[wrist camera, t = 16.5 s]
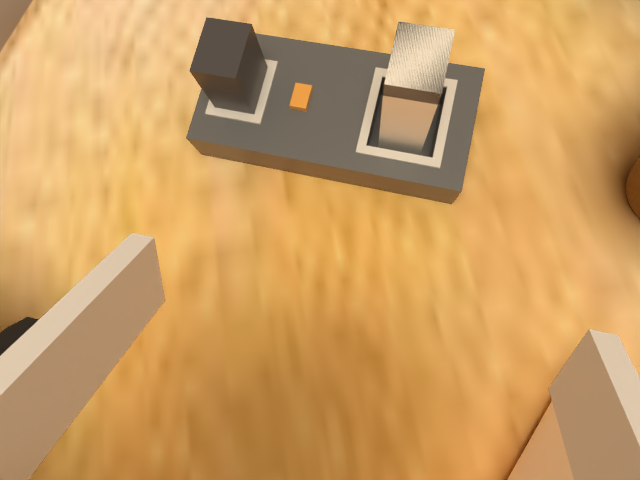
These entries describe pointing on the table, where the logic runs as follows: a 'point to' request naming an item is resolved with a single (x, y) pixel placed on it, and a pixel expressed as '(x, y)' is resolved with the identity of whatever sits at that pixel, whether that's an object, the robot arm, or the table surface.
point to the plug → (413, 85)
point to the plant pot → (634, 188)
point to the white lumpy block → (544, 453)
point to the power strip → (322, 112)
